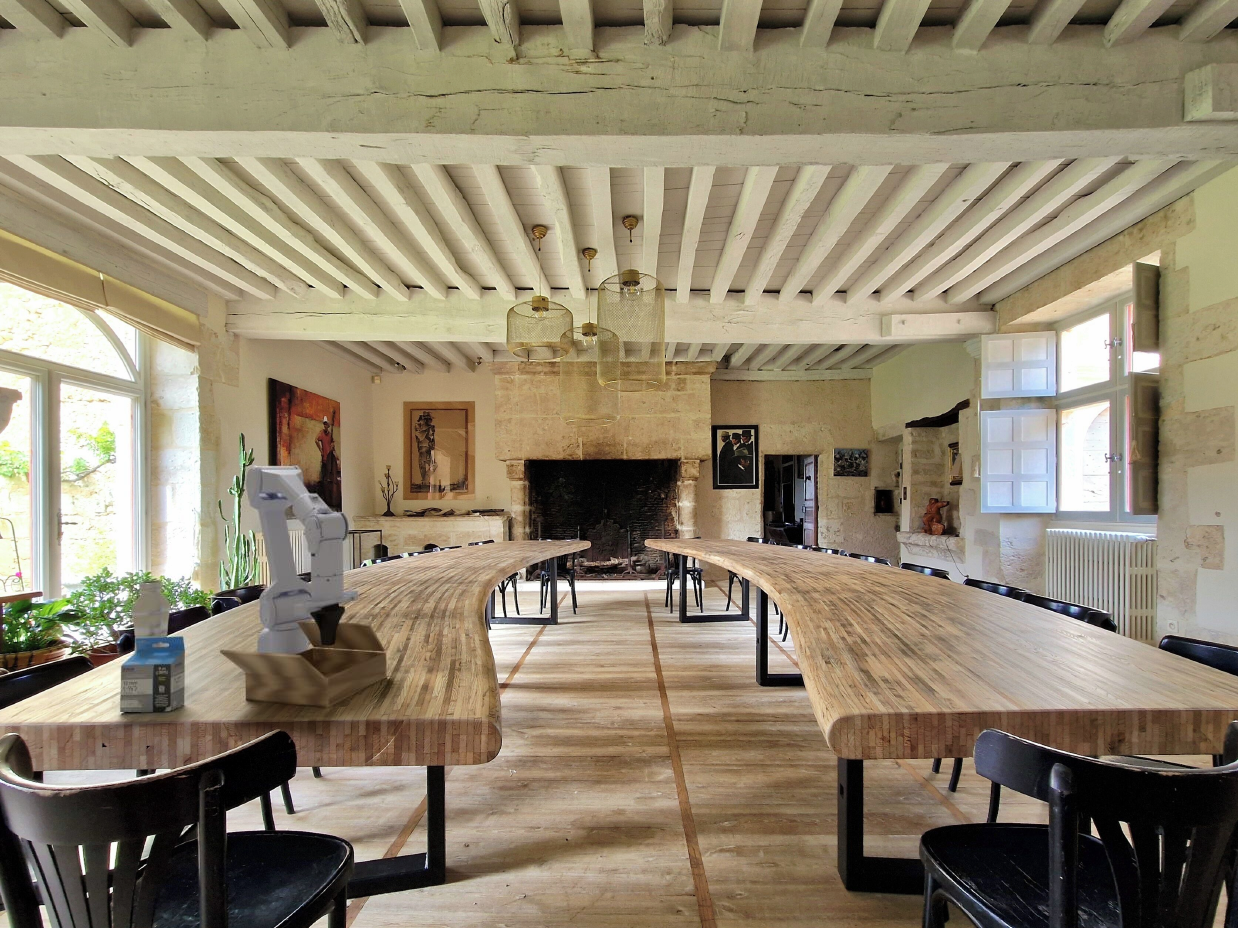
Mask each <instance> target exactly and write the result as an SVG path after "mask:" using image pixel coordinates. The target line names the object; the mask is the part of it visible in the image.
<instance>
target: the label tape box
mask: <svg viewBox="0 0 1238 928" xmlns="http://www.w3.org/2000/svg"><path fill="white" fill-rule="evenodd" d="M184 640H185V639H184V636H179V635H178V636H167V637H152V638H136V649H137V651H136V652H135V653H134V652H133V654H132V655H131V656H130V657H129V658H128V659H127V660H126V661H124V662H123V663H122V664H121V666H120V695H119V696H120V700H119V701H120V702H119V705H120V706H119V713H120V712H141V713H154V712H153V711H163V712H172V711H175V710H176V708H177V709H179V708H180V707H179V706H181V707H182V706H184V705H185V696H186V695H185V692H186V691H185V690H186V689H185V688H186V687H185V685H186V684H185V681H186V679H185V678H186V677H185V676H186V675H185V671H186V670H185V669H186V666H185V660H186V657H185V656H186V651H185V650H186V648H185V641H184ZM159 642H162V643H163V644H164V643H167V644H168V646H167V647H153V644H158V643H159ZM178 707H179V708H178ZM174 709H175V710H174ZM171 710H172V711H171Z"/></svg>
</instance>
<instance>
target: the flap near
mask: <svg viewBox="0 0 1238 928" xmlns="http://www.w3.org/2000/svg"><path fill="white" fill-rule="evenodd" d="M219 653H220V654H222V656H224V657H225V658H226V659H228V661H230V662H231V663H233V664H234V665H236V667H238V668H239V669H241V670H242V671H243V672H246V673H250V674H262V675H274V676H287V677H299V678H312V679H325V676H323V675H322V674H321V673H320V672H319V671H318V670H317V669H316V668H315V667H313V666H312V665H311V664H310V663H309V662H308V661H307V660H306V659H305V658H303V657H302V656H301V655H290V654H275V653H260V652H258V651H243V650H229V649H228V650H227V649H220V651H219Z"/></svg>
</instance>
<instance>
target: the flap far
mask: <svg viewBox="0 0 1238 928" xmlns="http://www.w3.org/2000/svg"><path fill="white" fill-rule="evenodd" d="M297 623H298V625H299V626H300V628H301V629H302V631H303V632H304V634H305V635H306V637H307V638H308V640H309V643H310V644H311V646H312V648H323V649H338V650H354V651H370V652H385V651H386V648H384V645H383V643H382V642H381V640H380V639H379V637H378V636H377V634H376V632H375V630H374V628H373V627H372V625H371V624H370V623H357V622H356V623H355V622H339V624H338V627H337V630H336V640H335V644H334V645H331V646H326V645H322V644H321V638H320V630H319V628H318V625H317V624H316V622H315V620H311V621H297Z"/></svg>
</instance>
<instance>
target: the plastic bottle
mask: <svg viewBox="0 0 1238 928" xmlns="http://www.w3.org/2000/svg"><path fill="white" fill-rule="evenodd" d="M162 591H163V581H162V580H159V579H158V580H148V581H147V580H146V581H141V582H139V590H138V592H139V593H140V595H139V596H138V598H137V599H136V600H135V602H134V603H133V605H132V607H131V616H132V617H131V618H132V623H133V629H134V636H135V637H134V652H133V654H134V653H135V652H136V651H137V649H136V638H152V637H168V629H169V628H168V627H169V618H170V613H171V611H170V610H171V603H170V601H169V600H168V599H167V597H166V596H165V595H164V594H163V593H162ZM167 646H169V644H167V643H164V644H163V643H162V642H159V643H158V644H153V647H167Z"/></svg>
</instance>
